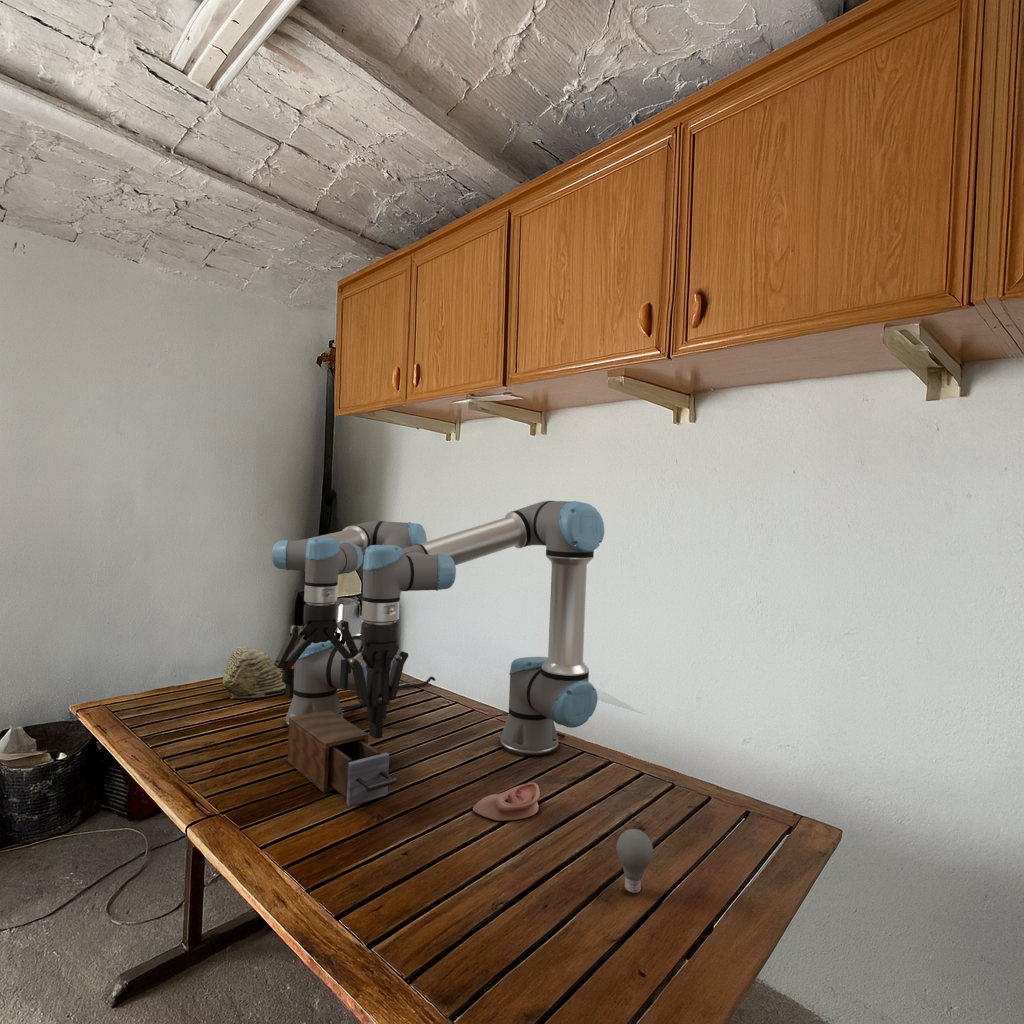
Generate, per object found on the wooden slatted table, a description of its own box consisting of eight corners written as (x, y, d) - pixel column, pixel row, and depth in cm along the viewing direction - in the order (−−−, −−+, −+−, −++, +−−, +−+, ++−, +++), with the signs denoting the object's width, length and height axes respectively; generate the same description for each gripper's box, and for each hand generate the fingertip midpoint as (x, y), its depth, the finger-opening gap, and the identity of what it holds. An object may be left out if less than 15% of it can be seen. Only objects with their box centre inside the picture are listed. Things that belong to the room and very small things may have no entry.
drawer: (401, 804, 130) (402, 762, 130) (361, 817, 124) (363, 773, 124) (347, 764, 148) (348, 727, 148) (310, 774, 142) (311, 735, 142)
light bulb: (610, 879, 108) (613, 822, 108) (644, 879, 109) (647, 822, 109) (619, 902, 102) (622, 840, 102) (655, 901, 103) (658, 840, 103)
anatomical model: (469, 797, 128) (483, 773, 139) (468, 816, 128) (482, 791, 139) (534, 806, 125) (543, 781, 136) (533, 826, 125) (542, 799, 136)
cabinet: (366, 780, 142) (368, 733, 142) (323, 792, 136) (325, 743, 135) (327, 751, 157) (329, 709, 157) (287, 761, 150) (289, 717, 150)
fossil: (218, 695, 195) (220, 647, 195) (278, 685, 208) (279, 640, 207) (228, 703, 189) (230, 653, 188) (289, 692, 201) (290, 645, 201)
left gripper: (274, 609, 139) (270, 705, 140) (375, 601, 156) (372, 687, 156) (261, 604, 145) (258, 696, 145) (360, 597, 161) (357, 679, 162)
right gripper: (359, 627, 122) (355, 749, 122) (417, 621, 130) (412, 735, 131) (342, 621, 127) (337, 737, 128) (398, 615, 136) (394, 724, 136)
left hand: (317, 692), depth 151 cm, fingers open, 13 cm apart
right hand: (375, 736), depth 129 cm, fingers closed
